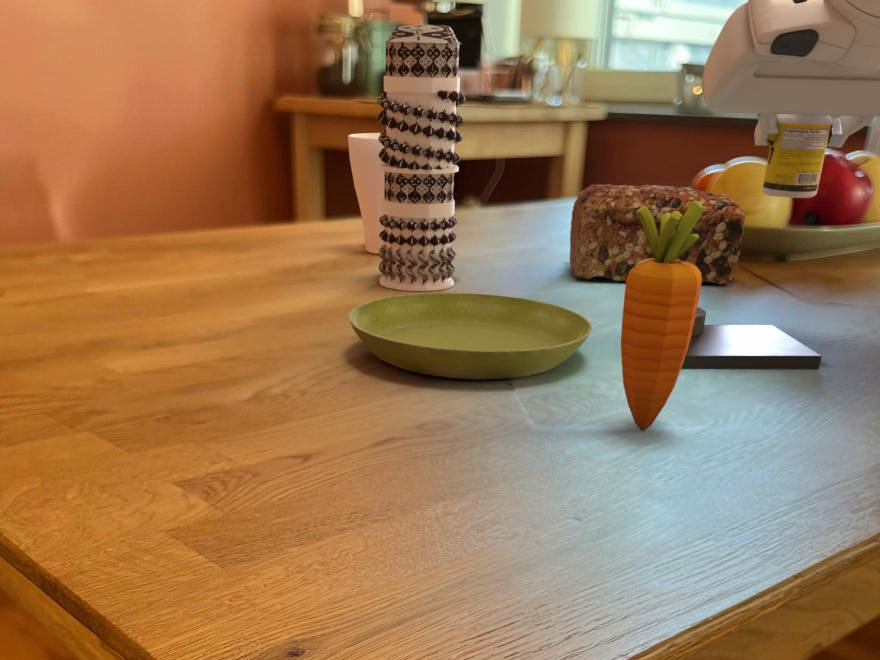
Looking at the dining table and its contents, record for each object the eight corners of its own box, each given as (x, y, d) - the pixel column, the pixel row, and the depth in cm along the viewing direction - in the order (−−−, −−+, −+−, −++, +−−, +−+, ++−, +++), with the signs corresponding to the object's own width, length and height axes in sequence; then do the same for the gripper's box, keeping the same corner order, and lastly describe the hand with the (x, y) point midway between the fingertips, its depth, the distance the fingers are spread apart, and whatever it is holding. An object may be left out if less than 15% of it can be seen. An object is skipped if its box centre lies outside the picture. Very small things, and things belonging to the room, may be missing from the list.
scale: (766, 335, 97) (772, 303, 95) (818, 370, 86) (827, 334, 85) (627, 335, 96) (631, 302, 94) (663, 369, 85) (669, 333, 84)
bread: (573, 282, 117) (582, 188, 112) (565, 265, 126) (573, 177, 121) (736, 287, 116) (753, 192, 111) (717, 270, 125) (731, 182, 120)
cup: (403, 261, 127) (405, 140, 120) (333, 252, 131) (331, 136, 124) (443, 249, 134) (447, 136, 128) (375, 241, 139) (375, 131, 132)
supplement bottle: (768, 190, 94) (788, 87, 90) (821, 195, 92) (843, 89, 88) (755, 195, 91) (775, 88, 86) (809, 200, 89) (832, 90, 84)
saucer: (326, 381, 81) (325, 340, 79) (369, 321, 98) (370, 287, 97) (590, 397, 78) (595, 355, 77) (586, 333, 96) (589, 298, 94)
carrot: (593, 429, 72) (619, 198, 64) (633, 414, 75) (663, 193, 67) (653, 446, 69) (688, 207, 61) (692, 430, 72) (731, 201, 64)
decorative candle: (443, 274, 120) (452, 26, 107) (467, 290, 112) (481, 25, 99) (367, 276, 118) (368, 24, 105) (387, 293, 110) (390, 23, 97)
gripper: (1000, -24, 77) (908, 113, 91) (734, -32, 77) (681, 108, 90) (1012, 43, 76) (916, 173, 89) (740, 36, 75) (685, 167, 89)
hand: (796, 140), depth 90 cm, fingers closed on supplement bottle, 5 cm apart
